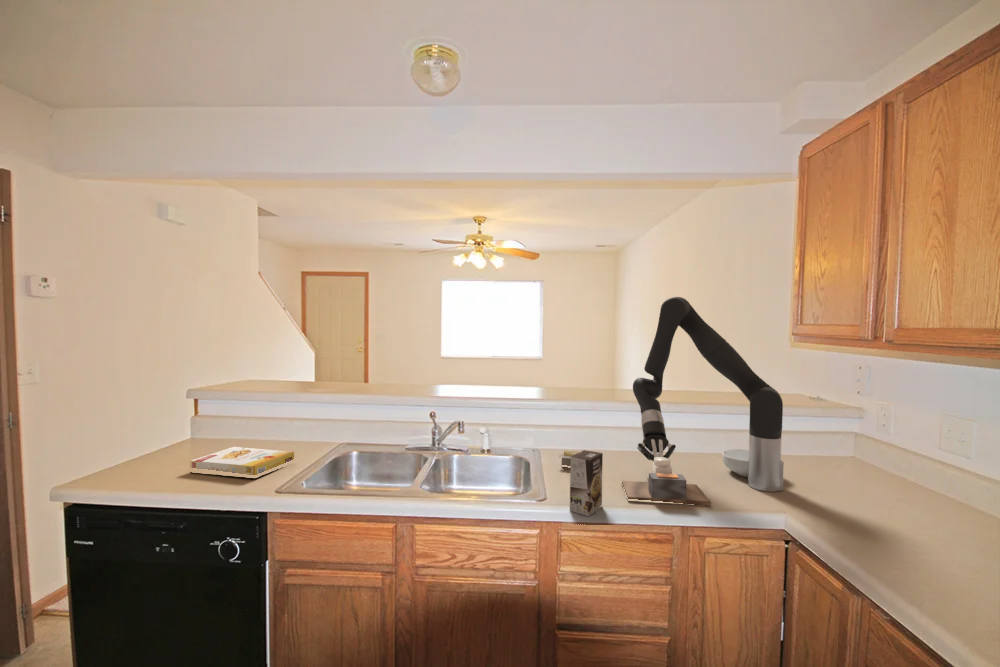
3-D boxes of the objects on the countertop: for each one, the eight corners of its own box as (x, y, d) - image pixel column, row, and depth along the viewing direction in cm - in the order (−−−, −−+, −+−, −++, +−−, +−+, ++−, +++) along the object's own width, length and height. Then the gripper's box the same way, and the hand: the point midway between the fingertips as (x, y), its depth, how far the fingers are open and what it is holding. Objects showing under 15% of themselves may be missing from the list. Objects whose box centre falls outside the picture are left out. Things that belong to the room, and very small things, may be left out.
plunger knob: (667, 484, 148) (668, 457, 148) (671, 490, 143) (672, 462, 143) (652, 483, 149) (652, 456, 149) (655, 489, 144) (655, 461, 144)
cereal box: (254, 465, 155) (188, 459, 161) (254, 481, 155) (188, 474, 161) (295, 450, 174) (234, 444, 181) (295, 464, 174) (234, 458, 181)
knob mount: (696, 488, 149) (696, 465, 149) (710, 506, 135) (710, 480, 135) (621, 485, 152) (622, 461, 152) (628, 501, 138) (628, 476, 138)
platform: (552, 461, 179) (552, 445, 178) (598, 466, 173) (599, 449, 172) (545, 471, 167) (545, 453, 167) (594, 477, 161) (594, 458, 161)
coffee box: (589, 516, 128) (589, 460, 127) (568, 511, 131) (569, 455, 131) (602, 506, 135) (603, 452, 134) (583, 501, 139) (583, 448, 138)
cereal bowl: (761, 467, 172) (761, 449, 171) (784, 483, 155) (785, 462, 155) (714, 465, 173) (715, 447, 173) (732, 481, 157) (733, 461, 156)
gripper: (635, 419, 159) (640, 464, 147) (674, 420, 157) (683, 466, 146) (632, 430, 165) (637, 475, 153) (670, 431, 163) (678, 477, 151)
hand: (660, 471), depth 149 cm, fingers closed
